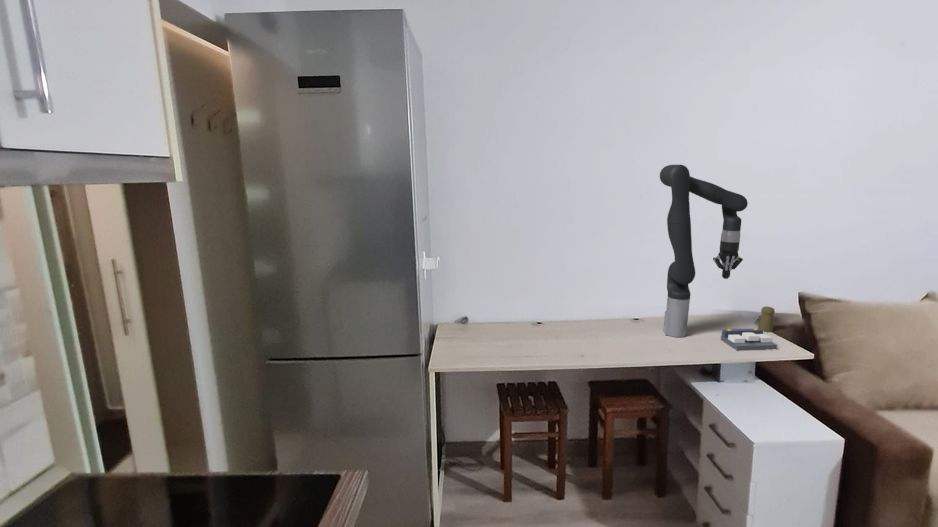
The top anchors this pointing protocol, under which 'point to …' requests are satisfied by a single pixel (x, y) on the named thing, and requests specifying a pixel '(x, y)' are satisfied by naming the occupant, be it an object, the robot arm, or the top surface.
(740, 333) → the keypad
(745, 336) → the middle key
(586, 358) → the top surface
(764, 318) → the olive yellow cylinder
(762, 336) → the outer key
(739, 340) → the inner key
